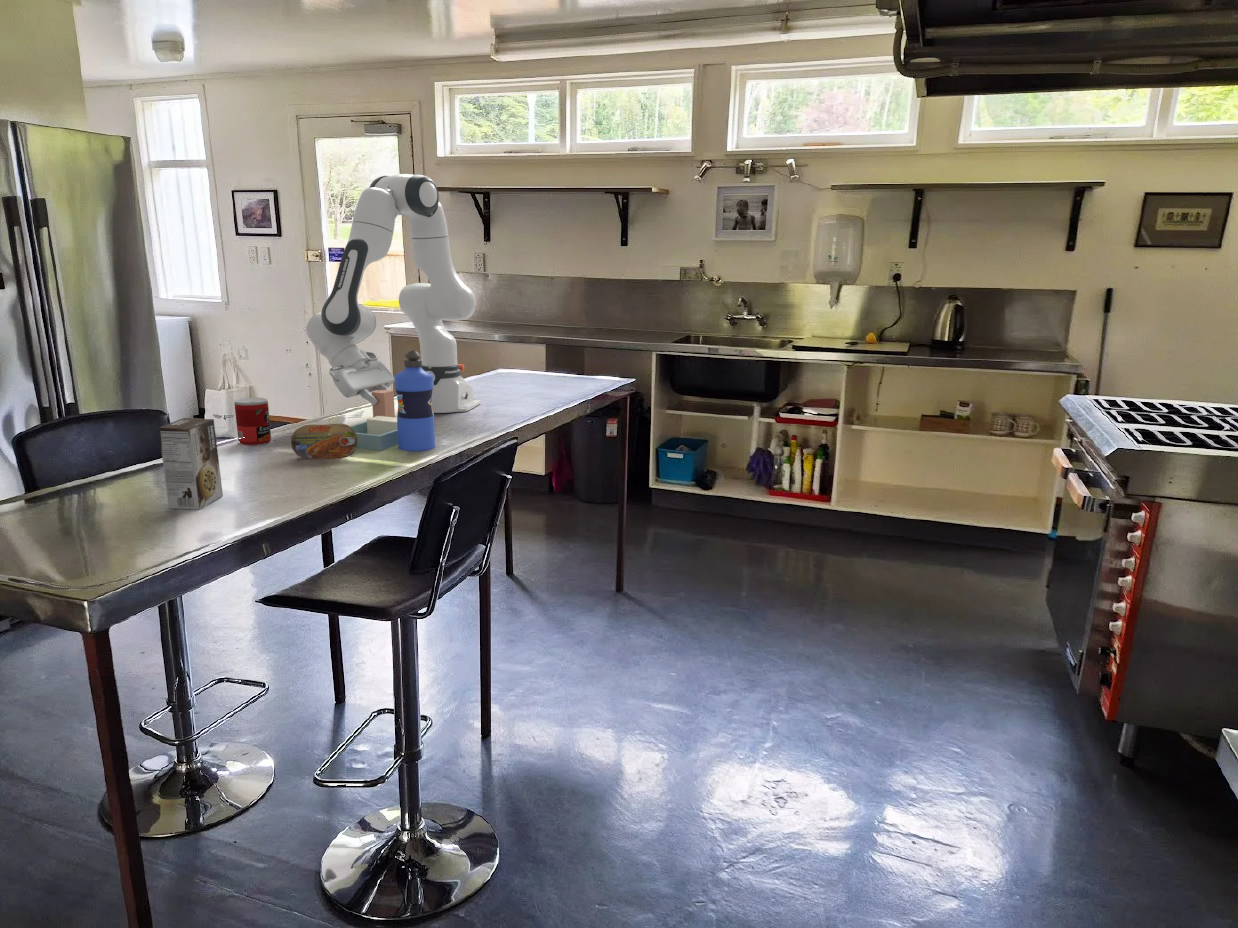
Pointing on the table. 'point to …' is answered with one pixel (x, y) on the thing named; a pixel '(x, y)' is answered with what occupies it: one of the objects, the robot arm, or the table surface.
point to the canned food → (252, 421)
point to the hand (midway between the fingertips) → (382, 401)
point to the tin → (324, 441)
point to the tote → (374, 438)
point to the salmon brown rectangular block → (384, 403)
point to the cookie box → (190, 463)
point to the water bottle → (414, 406)
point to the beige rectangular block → (381, 425)
